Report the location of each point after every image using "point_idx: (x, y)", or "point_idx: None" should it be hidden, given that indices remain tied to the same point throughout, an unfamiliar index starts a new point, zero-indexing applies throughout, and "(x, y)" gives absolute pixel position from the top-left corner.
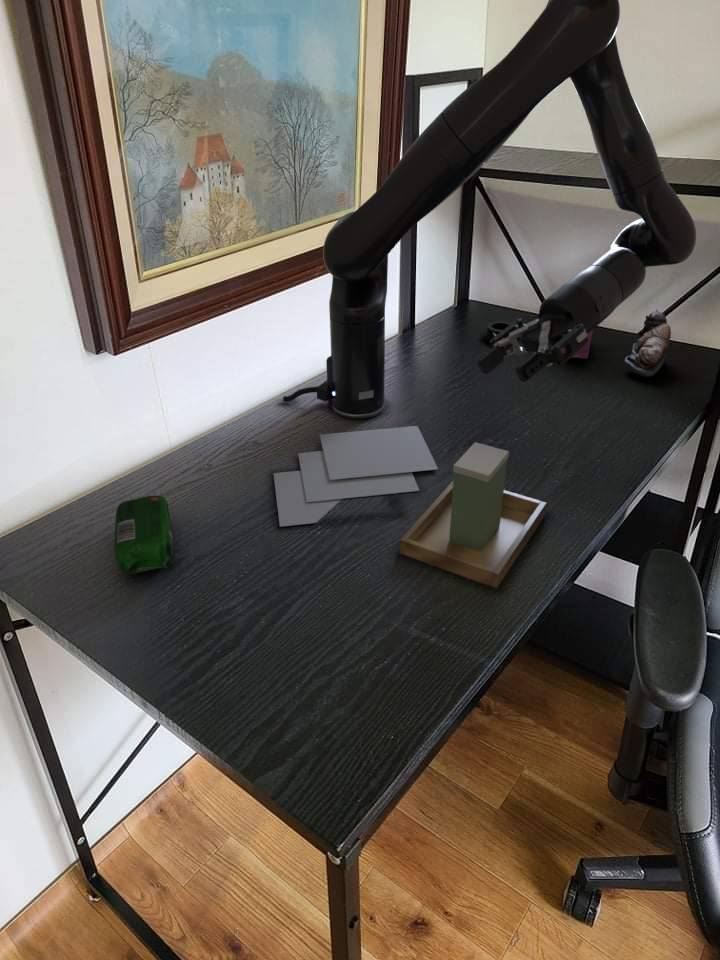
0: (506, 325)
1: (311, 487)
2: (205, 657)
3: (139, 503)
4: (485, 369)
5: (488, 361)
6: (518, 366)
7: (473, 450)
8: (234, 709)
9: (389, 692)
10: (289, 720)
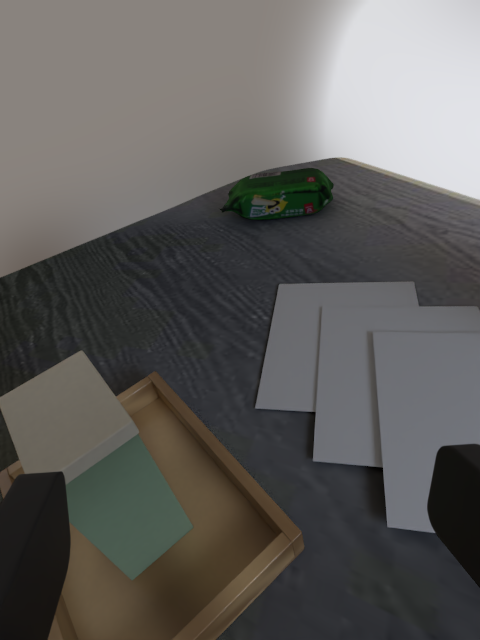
0: None
1: (361, 314)
2: (132, 247)
3: (305, 173)
4: (439, 503)
5: (477, 509)
6: (45, 479)
7: (101, 403)
8: (75, 261)
9: (2, 340)
10: (40, 284)
